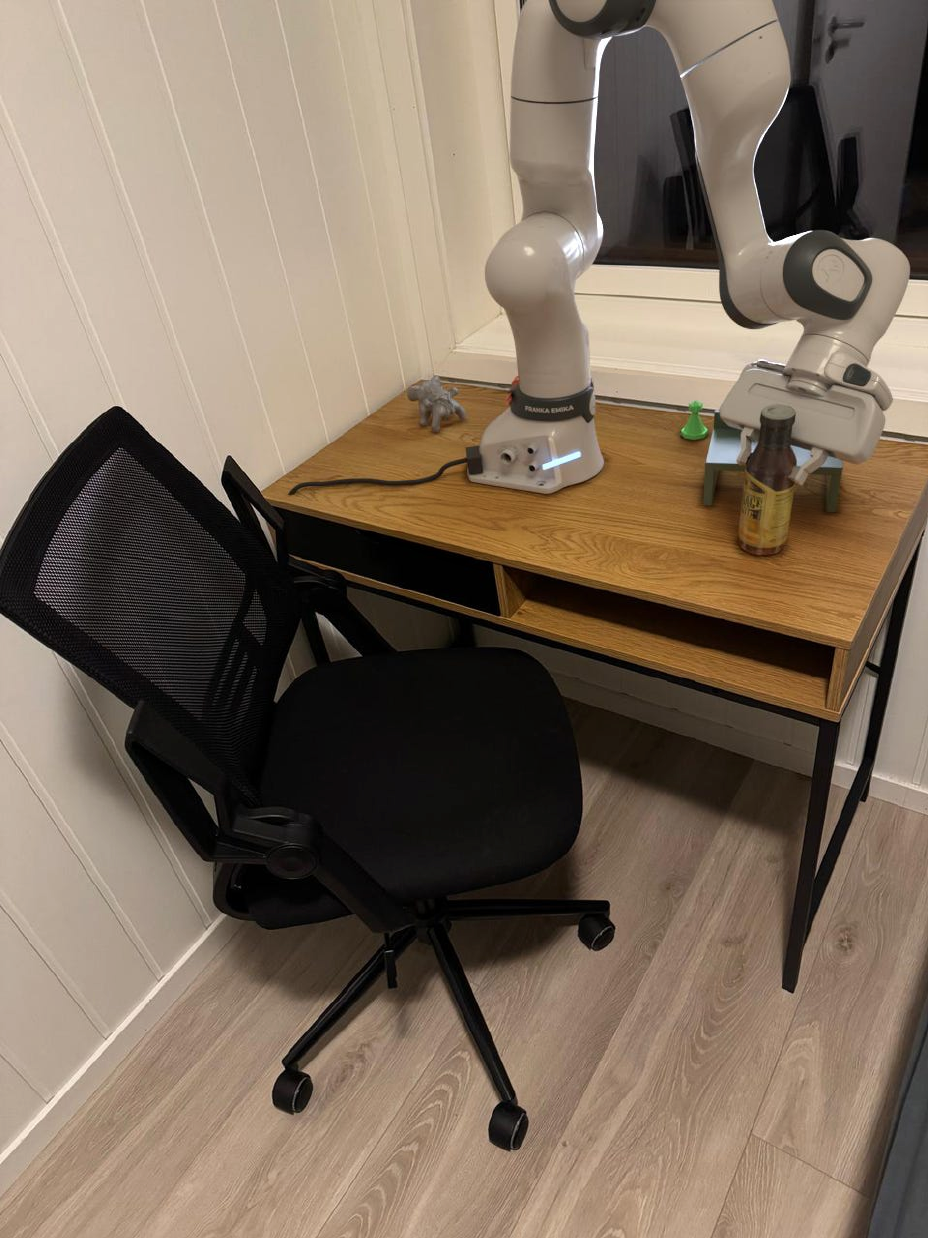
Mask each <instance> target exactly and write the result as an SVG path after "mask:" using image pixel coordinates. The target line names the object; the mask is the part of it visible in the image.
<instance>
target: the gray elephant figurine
mask: <svg viewBox="0 0 928 1238" xmlns="http://www.w3.org/2000/svg"><path fill="white" fill-rule="evenodd" d="M450 391H451V392H450ZM457 395H459V389H458V388H457V387H455V386H451V387H449V388H448V389H446V388H444V387H442V381H441V378H440V377H439V376H438V375H435V376H433V377H431V379H430V380H429V379H427V380H424V381H422V382H420V383H419V384H414V385H412V386H410V387H409V388H408V389H407V393H406V396H407V397H406V398H407V399H408V400H409V401H410V402H417V401H418V402H417V403H418V407H419V414H420V419H419V425H420V426H421V427H427V426H428V425H429V421H430V418H431V415H432V421H431V425H430V426H431V427H430V428H431V432H433V433H435V434H436V433H439V432H440V429H441V428H440V426H441V422H442V419H443V418H445V419H446V420H449V417H450V416H451V415H457V417H458V418H459V419H460V420H461V421H464V420H465V419H466V417H467V413H466V410H465V408H463V406H462V405H461V404H460V403H459V402H458V401H457V400H455V399H454V397H455V396H457Z"/></svg>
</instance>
